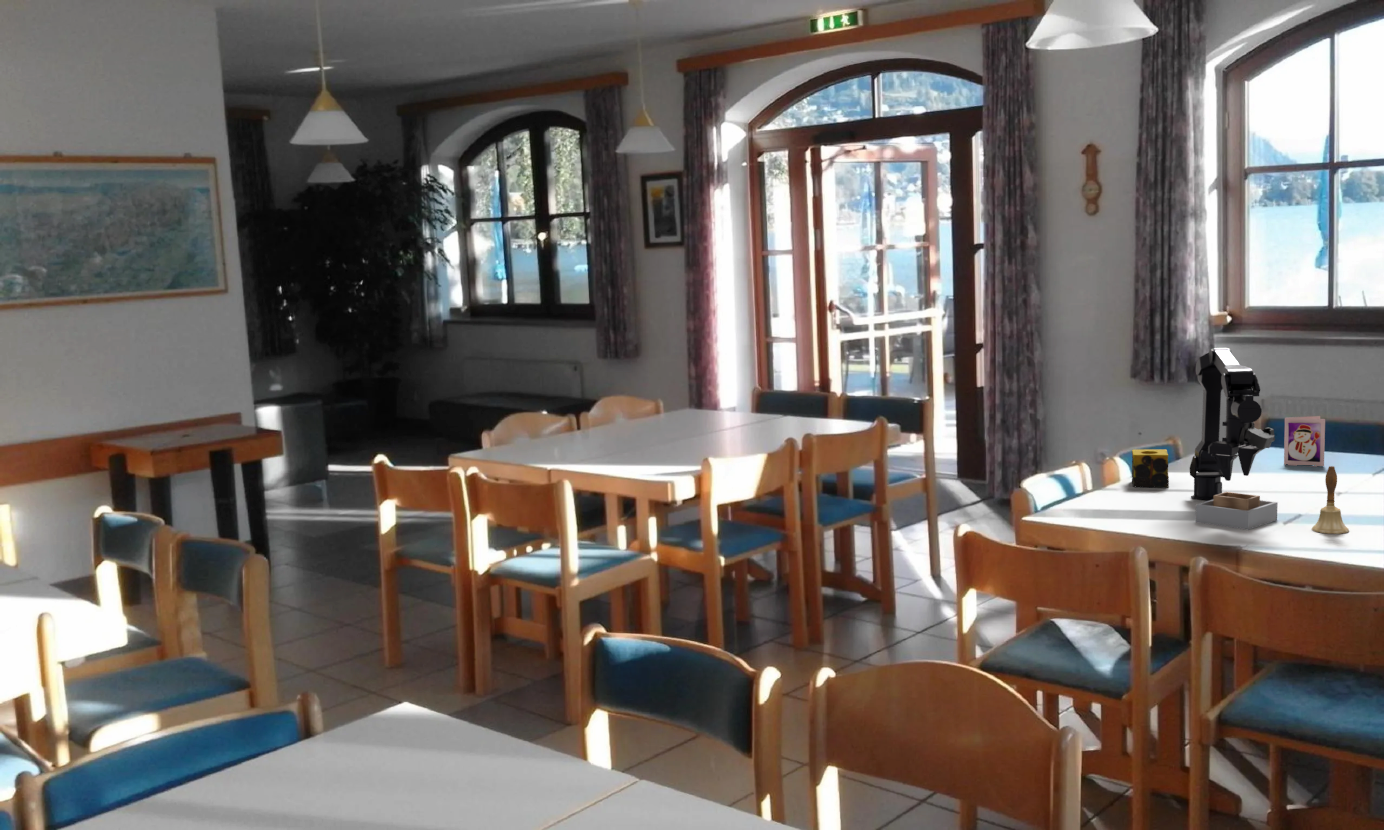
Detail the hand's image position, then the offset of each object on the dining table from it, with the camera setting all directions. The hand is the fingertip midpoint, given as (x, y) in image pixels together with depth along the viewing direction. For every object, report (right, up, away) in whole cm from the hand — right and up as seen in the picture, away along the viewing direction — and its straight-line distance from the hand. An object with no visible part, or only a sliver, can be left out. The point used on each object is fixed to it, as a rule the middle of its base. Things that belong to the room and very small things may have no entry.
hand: (1237, 478), depth 333 cm
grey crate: (+1, -12, +2) cm, 12 cm away
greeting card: (+53, 0, +76) cm, 93 cm away
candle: (-3, -5, +53) cm, 54 cm away
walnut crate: (0, -11, +2) cm, 11 cm away
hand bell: (+18, -13, -13) cm, 25 cm away
